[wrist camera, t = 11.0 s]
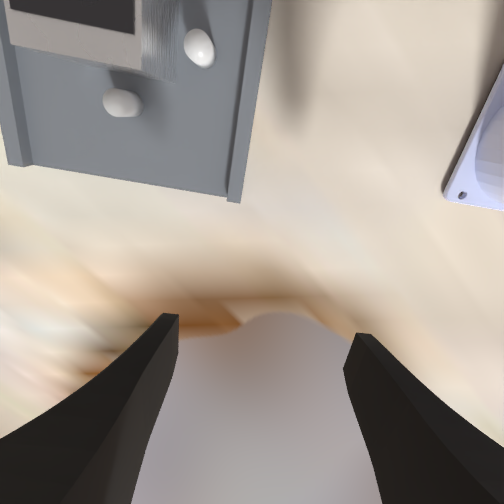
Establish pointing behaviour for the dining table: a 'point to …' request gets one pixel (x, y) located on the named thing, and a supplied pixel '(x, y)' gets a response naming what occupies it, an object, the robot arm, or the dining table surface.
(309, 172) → the dining table surface
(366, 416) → the robot arm
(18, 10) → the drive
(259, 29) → the pin tray
